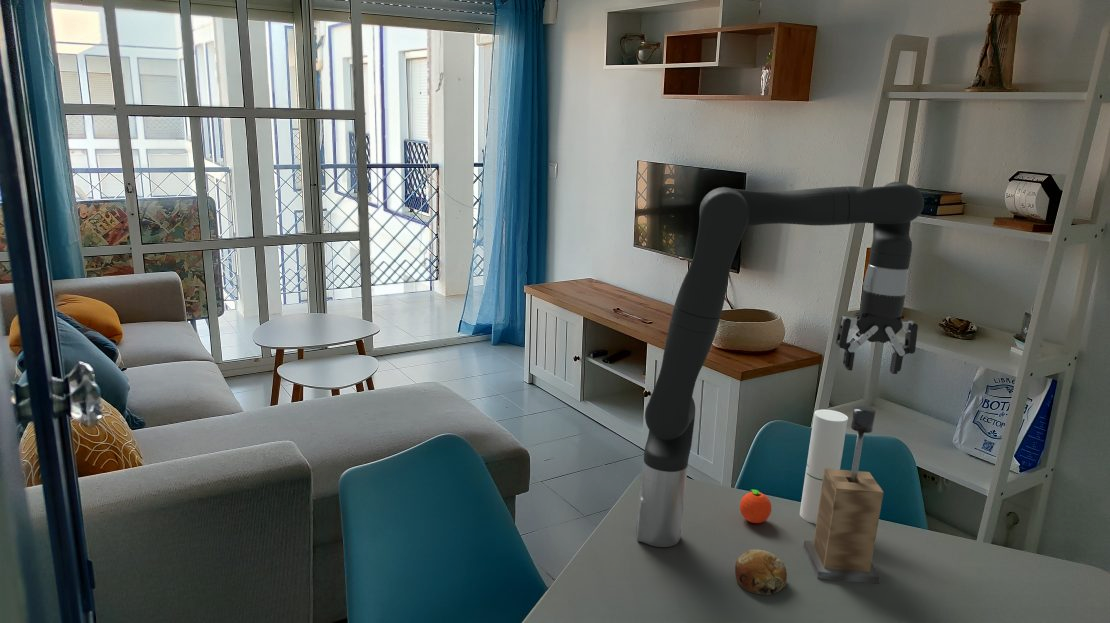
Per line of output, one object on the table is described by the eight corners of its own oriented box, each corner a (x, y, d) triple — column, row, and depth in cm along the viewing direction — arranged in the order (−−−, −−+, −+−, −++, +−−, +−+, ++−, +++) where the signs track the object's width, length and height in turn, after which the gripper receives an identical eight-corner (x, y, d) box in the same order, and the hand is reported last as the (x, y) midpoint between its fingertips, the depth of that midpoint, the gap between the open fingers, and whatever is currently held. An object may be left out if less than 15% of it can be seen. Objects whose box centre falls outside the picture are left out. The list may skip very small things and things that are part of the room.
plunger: (833, 527, 159) (851, 414, 153) (824, 510, 166) (841, 402, 160) (869, 530, 159) (888, 417, 153) (859, 513, 165) (877, 404, 160)
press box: (817, 578, 159) (830, 491, 155) (803, 546, 171) (815, 464, 166) (878, 583, 159) (894, 496, 154) (860, 551, 170) (874, 469, 166)
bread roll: (784, 595, 159) (789, 554, 161) (783, 601, 150) (789, 557, 151) (733, 583, 162) (739, 543, 164) (730, 588, 153) (736, 546, 154)
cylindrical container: (827, 510, 187) (843, 410, 181) (835, 526, 180) (851, 422, 174) (796, 507, 188) (811, 408, 182) (802, 522, 181) (818, 419, 175)
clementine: (732, 511, 184) (735, 483, 183) (761, 511, 185) (765, 483, 183) (744, 529, 177) (747, 499, 175) (774, 529, 178) (778, 499, 176)
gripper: (852, 291, 147) (839, 374, 151) (930, 296, 147) (915, 380, 151) (840, 282, 155) (828, 362, 159) (915, 288, 154) (901, 368, 158)
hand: (870, 371), depth 155 cm, fingers open, 8 cm apart
